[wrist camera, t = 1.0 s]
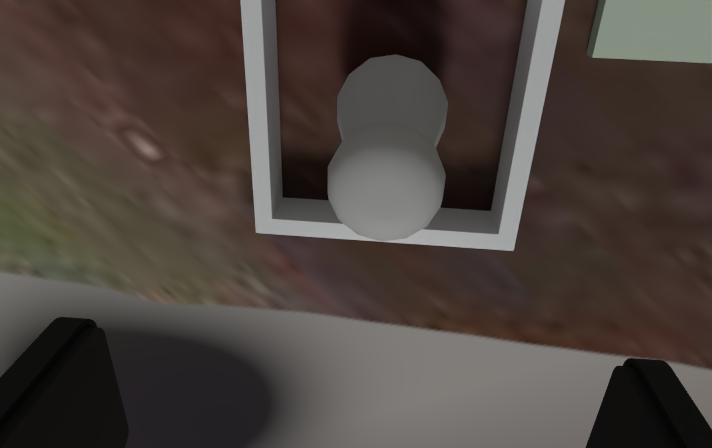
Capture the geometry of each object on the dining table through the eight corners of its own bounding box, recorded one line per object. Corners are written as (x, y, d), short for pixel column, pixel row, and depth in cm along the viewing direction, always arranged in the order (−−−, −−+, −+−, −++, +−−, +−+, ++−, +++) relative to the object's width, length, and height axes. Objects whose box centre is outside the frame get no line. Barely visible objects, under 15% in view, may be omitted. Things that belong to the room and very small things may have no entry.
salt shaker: (343, 43, 28) (301, 106, 16) (450, 49, 28) (482, 118, 16) (340, 146, 31) (301, 261, 19) (437, 153, 30) (457, 274, 19)
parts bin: (556, -45, 25) (574, -44, 22) (504, 226, 32) (513, 250, 30) (253, -56, 26) (236, -57, 23) (268, 210, 33) (255, 232, 30)
